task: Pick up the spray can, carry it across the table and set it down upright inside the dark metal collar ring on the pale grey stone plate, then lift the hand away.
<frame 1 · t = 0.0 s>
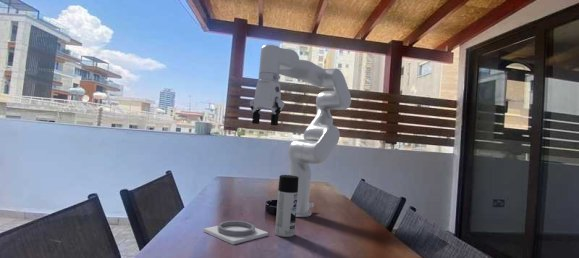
hand: (264, 124, 130), 37 cm above the table, tool pointing down, fingers open, 9 cm apart
spray can: (284, 235, 118), on the table
collar plate: (235, 233, 115), on the table
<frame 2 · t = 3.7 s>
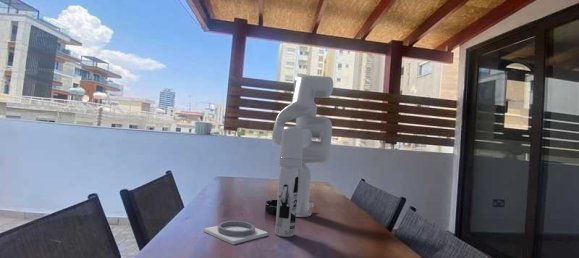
hand: (286, 214, 118), 7 cm above the table, tool pointing down, fingers closed on spray can, 6 cm apart
spray can: (284, 235, 118), on the table, touching gripper
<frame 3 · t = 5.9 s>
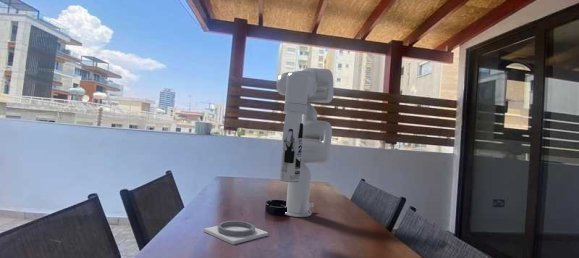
hand: (290, 161, 119), 25 cm above the table, tool pointing down, fingers closed on spray can, 6 cm apart
spray can: (289, 181, 119), point 18 cm above the table, touching gripper
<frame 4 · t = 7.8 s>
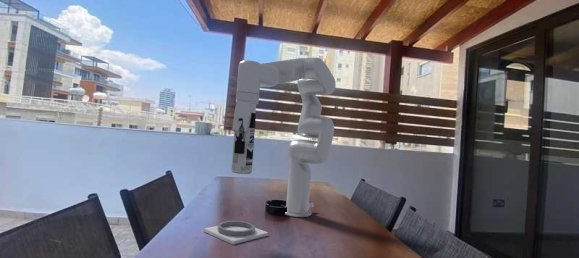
hand: (242, 152, 115), 27 cm above the table, tool pointing down, fingers closed on spray can, 6 cm apart
spray can: (241, 173, 115), point 20 cm above the table, touching gripper
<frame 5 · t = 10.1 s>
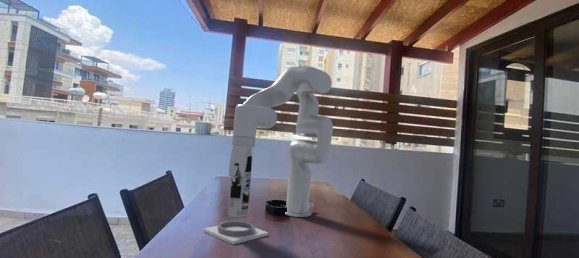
hand: (239, 195, 115), 13 cm above the table, tool pointing down, fingers closed on spray can, 6 cm apart
spray can: (237, 216, 115), point 6 cm above the table, touching gripper
when the fingers open (10 cm above the table, at t = 11.8 s): spray can drops 2 cm, resting on collar plate.
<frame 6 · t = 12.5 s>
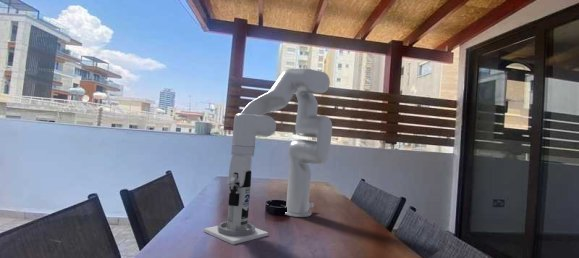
hand: (238, 202, 115), 10 cm above the table, tool pointing down, fingers open, 9 cm apart
spray can: (236, 231, 115), point 1 cm above the table, touching collar plate
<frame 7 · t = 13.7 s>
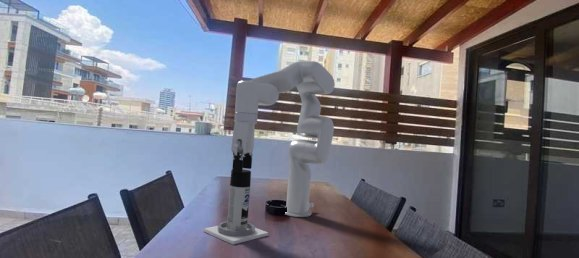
hand: (242, 170, 115), 21 cm above the table, tool pointing down, fingers open, 9 cm apart
nothing on the table moved.
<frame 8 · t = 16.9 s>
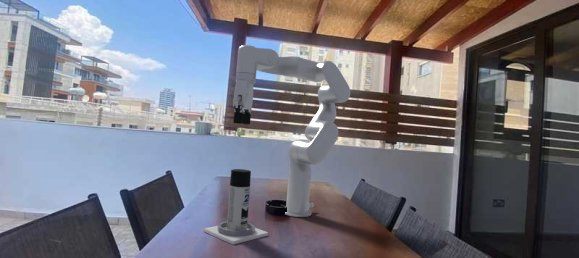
hand: (242, 123, 132), 36 cm above the table, tool pointing down, fingers open, 9 cm apart
nothing on the table moved.
at the end: spray can 0.1 cm off-centre on the collar plate, point 0.8 cm above the collar plate's base; spray can tilted 0°; the gripper is holding nothing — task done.
